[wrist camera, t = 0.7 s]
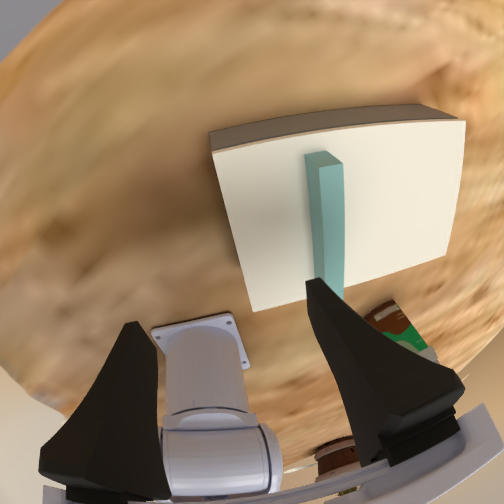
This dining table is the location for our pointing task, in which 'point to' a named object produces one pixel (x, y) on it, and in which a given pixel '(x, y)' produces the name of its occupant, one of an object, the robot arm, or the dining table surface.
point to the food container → (399, 329)
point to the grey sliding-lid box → (320, 123)
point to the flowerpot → (337, 460)
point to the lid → (340, 204)
